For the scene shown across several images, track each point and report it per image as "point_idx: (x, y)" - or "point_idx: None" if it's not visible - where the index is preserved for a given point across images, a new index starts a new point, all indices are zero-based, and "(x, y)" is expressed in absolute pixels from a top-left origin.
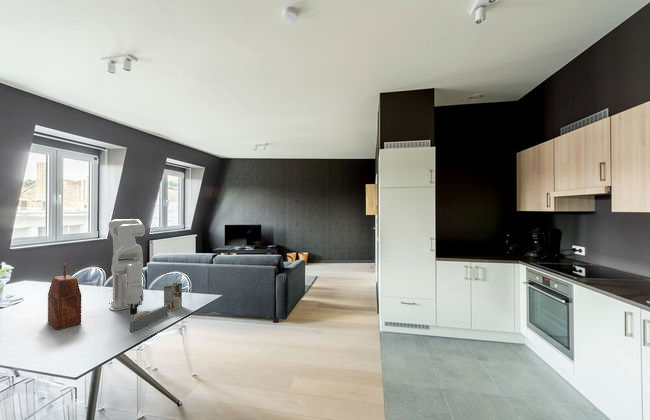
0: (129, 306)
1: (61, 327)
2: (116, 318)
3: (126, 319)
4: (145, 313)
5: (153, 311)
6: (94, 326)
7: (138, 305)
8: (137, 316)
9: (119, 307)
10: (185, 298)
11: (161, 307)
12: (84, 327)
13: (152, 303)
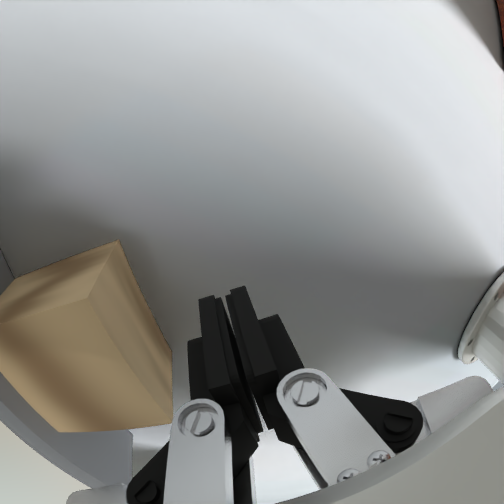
0: (330, 400)
1: (501, 2)
2: (429, 217)
3: (332, 251)
4: (63, 389)
5: (7, 423)
6: (425, 36)
7: (110, 488)
8: (46, 304)
9: (495, 305)
10: (283, 494)
11: (86, 479)
12: (453, 19)
13: None
